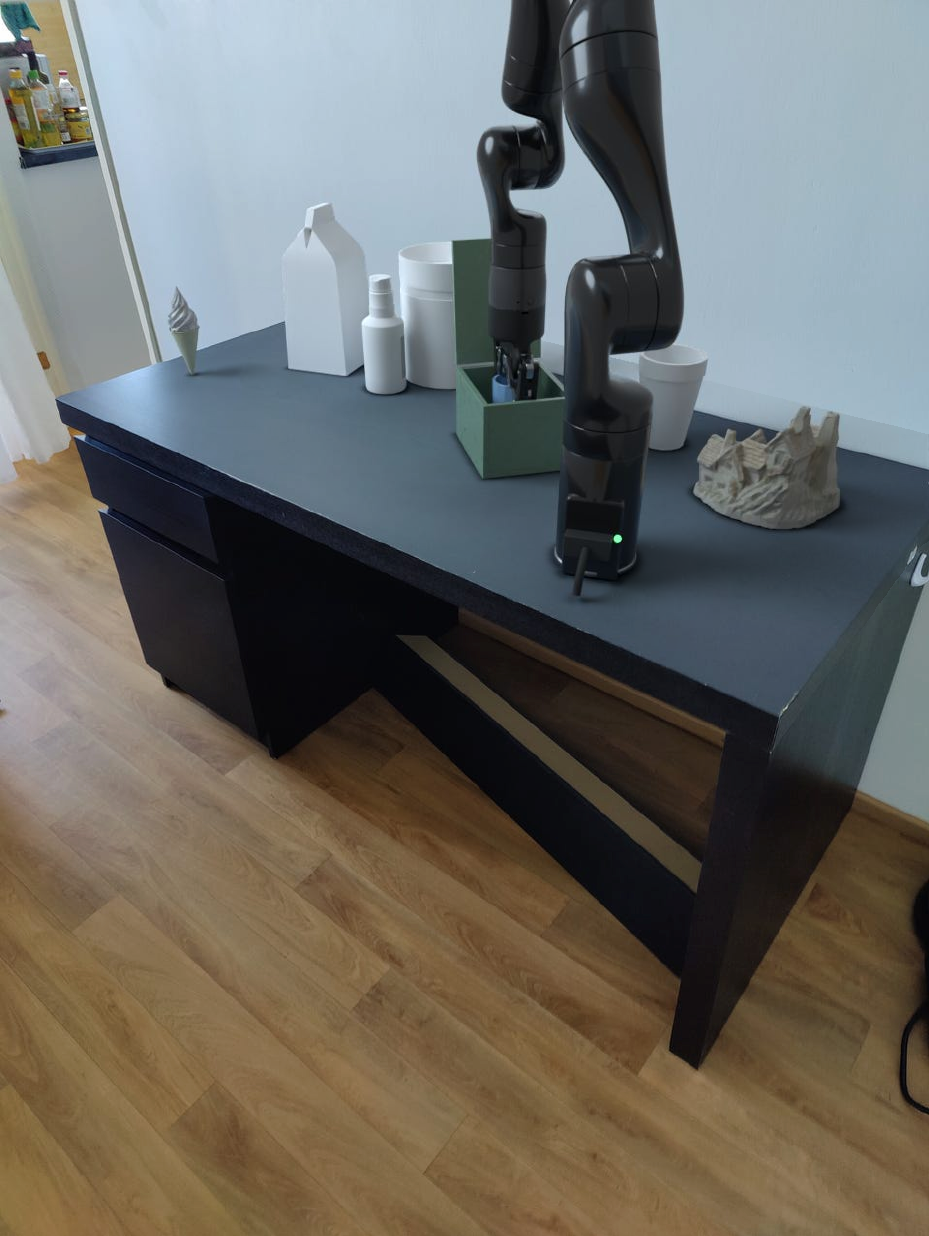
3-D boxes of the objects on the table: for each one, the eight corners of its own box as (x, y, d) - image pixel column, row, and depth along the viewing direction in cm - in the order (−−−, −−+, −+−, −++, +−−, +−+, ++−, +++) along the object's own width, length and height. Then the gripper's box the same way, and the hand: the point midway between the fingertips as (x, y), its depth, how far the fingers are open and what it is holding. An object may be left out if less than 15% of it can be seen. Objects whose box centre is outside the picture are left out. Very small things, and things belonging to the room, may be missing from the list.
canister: (508, 382, 151) (511, 259, 140) (419, 394, 147) (415, 267, 135) (475, 353, 164) (476, 238, 152) (392, 364, 159) (386, 246, 148)
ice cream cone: (194, 367, 158) (178, 280, 149) (213, 373, 155) (198, 284, 147) (171, 375, 155) (154, 286, 146) (190, 381, 152) (174, 291, 144)
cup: (529, 441, 122) (531, 388, 118) (487, 436, 124) (487, 384, 119) (538, 425, 127) (540, 374, 123) (497, 421, 128) (498, 370, 124)
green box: (570, 469, 123) (575, 397, 117) (482, 479, 120) (483, 406, 114) (536, 426, 135) (539, 360, 129) (456, 434, 133) (455, 367, 127)
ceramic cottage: (858, 505, 113) (880, 390, 105) (768, 543, 106) (783, 424, 98) (764, 468, 124) (776, 362, 116) (677, 501, 118) (684, 390, 110)
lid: (542, 235, 121) (531, 232, 125) (452, 240, 118) (444, 236, 123) (540, 357, 129) (530, 350, 133) (456, 364, 126) (448, 357, 131)
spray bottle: (414, 385, 150) (410, 274, 140) (390, 397, 145) (384, 284, 135) (382, 378, 153) (375, 269, 143) (357, 390, 148) (349, 278, 138)
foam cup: (694, 457, 126) (708, 367, 118) (628, 452, 127) (638, 362, 120) (693, 431, 133) (707, 345, 126) (631, 426, 135) (641, 341, 128)
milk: (346, 376, 154) (333, 214, 139) (288, 368, 157) (269, 209, 143) (376, 355, 163) (366, 201, 148) (321, 348, 167) (306, 197, 152)
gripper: (475, 287, 120) (475, 406, 130) (504, 316, 108) (501, 444, 118) (528, 284, 122) (524, 401, 131) (562, 312, 110) (555, 439, 119)
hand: (513, 421), depth 124 cm, fingers closed on cup, 6 cm apart
